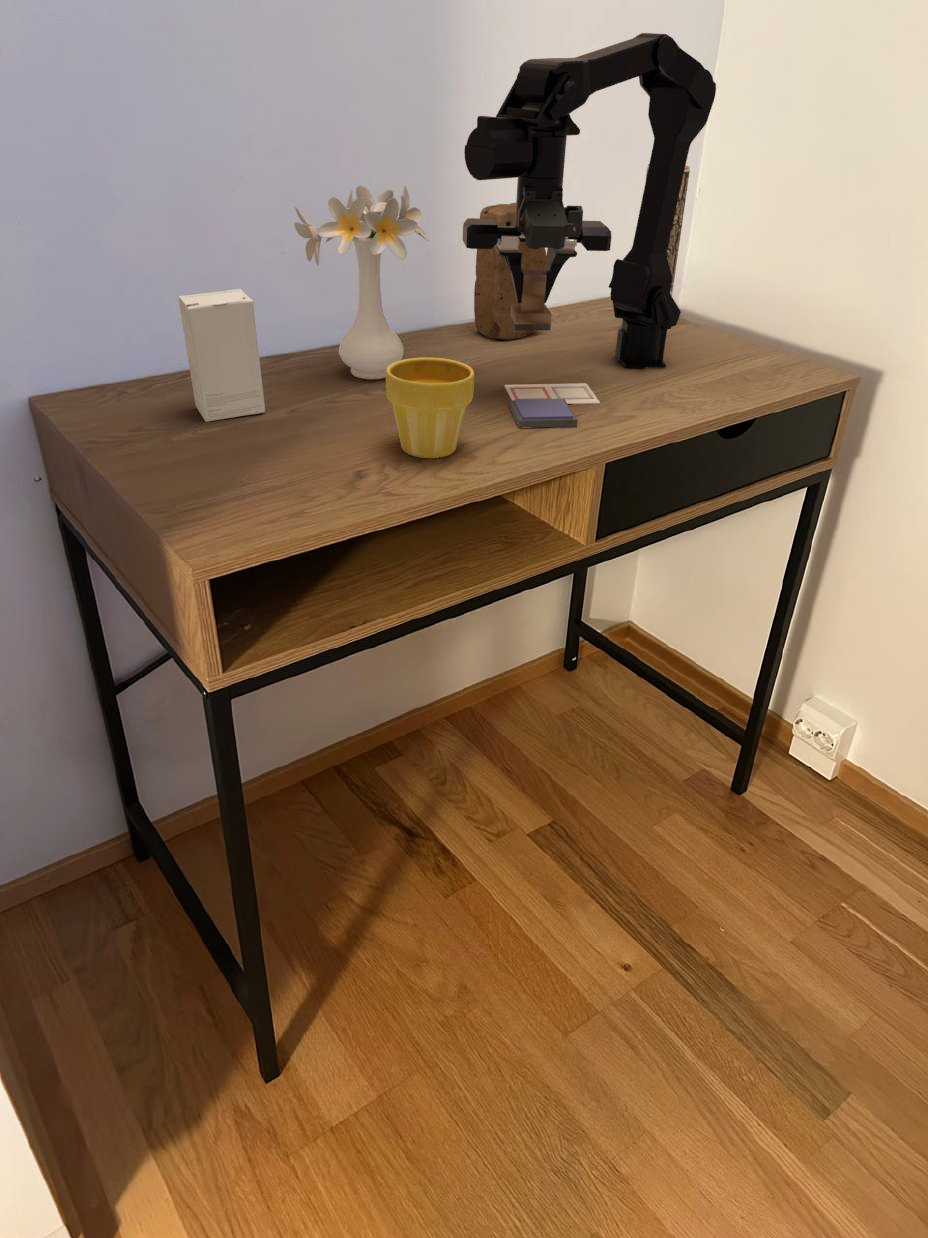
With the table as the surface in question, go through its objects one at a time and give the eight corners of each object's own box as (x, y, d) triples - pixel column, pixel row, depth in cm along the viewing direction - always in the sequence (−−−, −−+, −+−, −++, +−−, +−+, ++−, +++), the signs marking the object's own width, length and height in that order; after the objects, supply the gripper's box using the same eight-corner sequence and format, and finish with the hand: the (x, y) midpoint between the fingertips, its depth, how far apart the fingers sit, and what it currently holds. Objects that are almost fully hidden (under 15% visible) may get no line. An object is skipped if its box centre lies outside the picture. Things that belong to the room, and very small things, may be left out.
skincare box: (254, 400, 128) (243, 286, 120) (267, 414, 124) (256, 298, 116) (192, 408, 125) (176, 292, 117) (202, 423, 120) (187, 304, 112)
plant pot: (454, 428, 121) (456, 352, 116) (484, 459, 113) (487, 379, 108) (376, 437, 118) (375, 359, 113) (401, 469, 110) (400, 387, 105)
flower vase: (291, 373, 138) (278, 186, 124) (397, 352, 147) (395, 177, 134) (338, 399, 129) (328, 201, 116) (446, 375, 139) (449, 190, 125)
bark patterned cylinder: (628, 326, 164) (647, 167, 150) (629, 315, 169) (647, 161, 156) (668, 328, 163) (690, 169, 149) (667, 318, 168) (689, 163, 155)
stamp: (544, 320, 131) (548, 268, 127) (550, 330, 127) (554, 276, 123) (509, 320, 131) (513, 267, 127) (514, 330, 127) (518, 275, 123)
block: (492, 343, 153) (497, 210, 142) (468, 331, 158) (472, 202, 147) (547, 335, 158) (557, 206, 147) (523, 324, 163) (530, 198, 152)
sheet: (586, 384, 137) (586, 382, 137) (599, 403, 130) (600, 401, 130) (504, 385, 136) (504, 383, 135) (514, 405, 129) (514, 403, 129)
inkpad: (564, 406, 129) (564, 397, 128) (576, 426, 123) (577, 417, 122) (509, 407, 128) (509, 398, 128) (519, 428, 122) (519, 418, 121)
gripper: (474, 183, 111) (468, 318, 120) (628, 187, 113) (613, 319, 122) (464, 170, 121) (460, 296, 129) (607, 173, 123) (594, 297, 131)
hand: (531, 302), depth 127 cm, fingers closed on stamp, 3 cm apart
